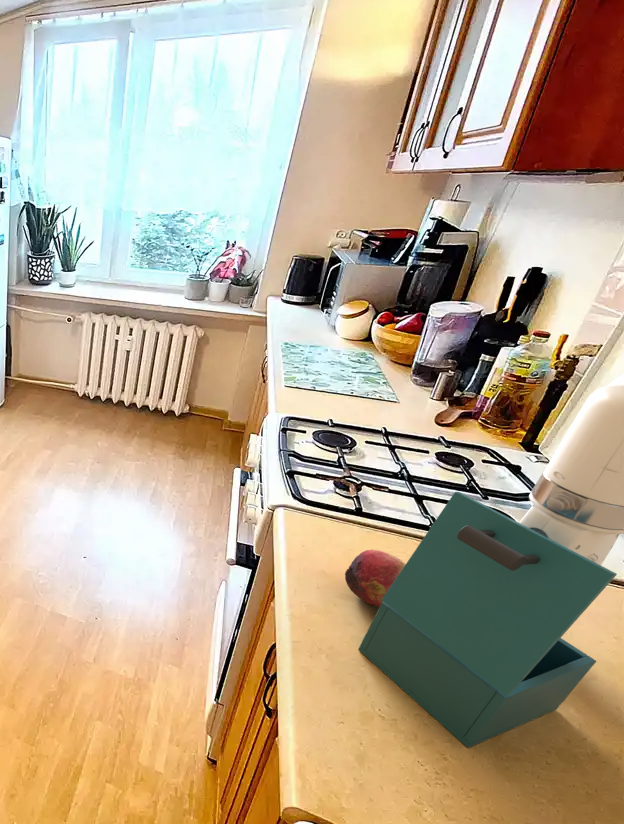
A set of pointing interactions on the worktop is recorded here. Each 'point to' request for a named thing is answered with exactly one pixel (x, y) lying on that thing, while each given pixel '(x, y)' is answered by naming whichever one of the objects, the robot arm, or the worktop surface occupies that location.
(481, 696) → the teal box base
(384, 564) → the fruit
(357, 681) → the worktop surface
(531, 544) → the teal box lid
